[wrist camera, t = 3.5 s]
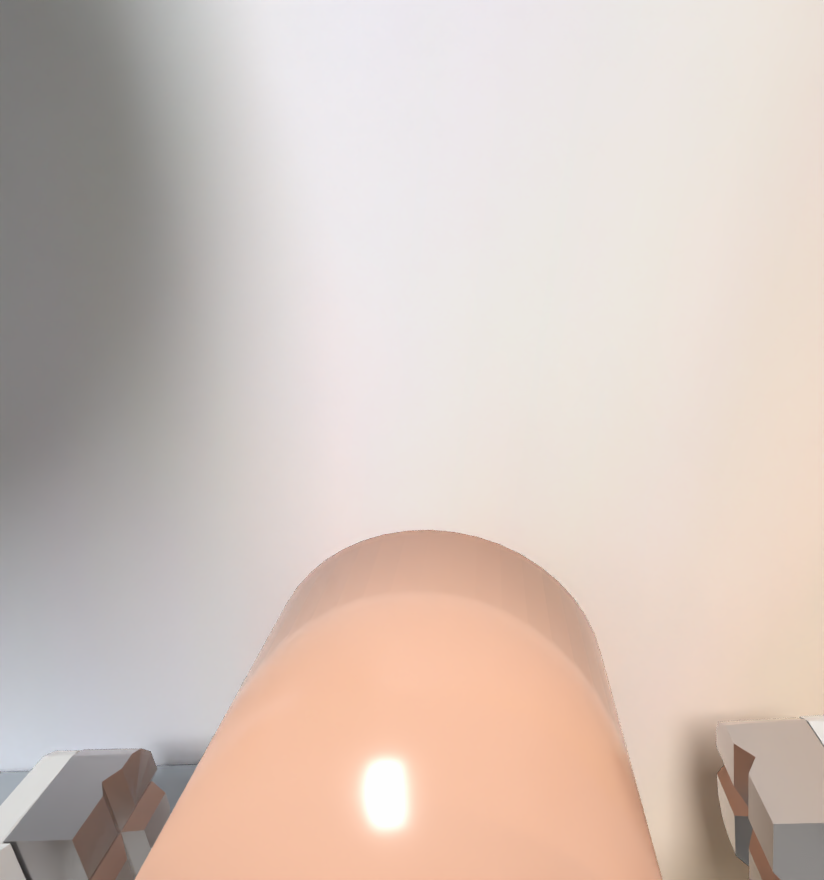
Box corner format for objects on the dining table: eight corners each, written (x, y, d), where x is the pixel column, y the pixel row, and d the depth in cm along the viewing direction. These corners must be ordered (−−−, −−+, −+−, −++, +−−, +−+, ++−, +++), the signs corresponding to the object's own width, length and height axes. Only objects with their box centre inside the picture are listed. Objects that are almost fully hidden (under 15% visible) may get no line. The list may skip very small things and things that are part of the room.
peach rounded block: (589, 512, 10) (691, 785, 5) (614, 805, 11) (708, 1226, 6) (239, 545, 10) (31, 804, 6) (308, 813, 12) (192, 1188, 7)
